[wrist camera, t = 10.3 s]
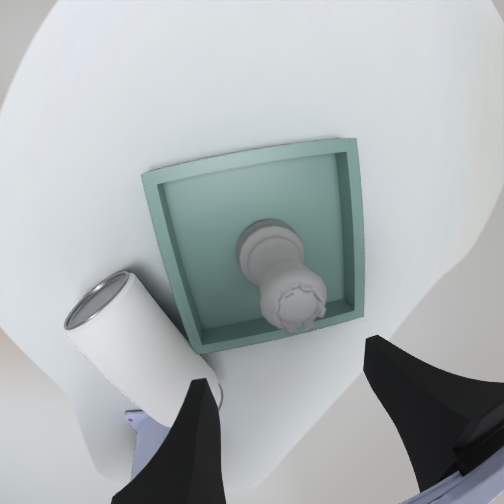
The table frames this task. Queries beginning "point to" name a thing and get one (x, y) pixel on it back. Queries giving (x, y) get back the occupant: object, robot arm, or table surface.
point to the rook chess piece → (281, 276)
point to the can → (137, 347)
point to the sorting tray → (247, 214)
